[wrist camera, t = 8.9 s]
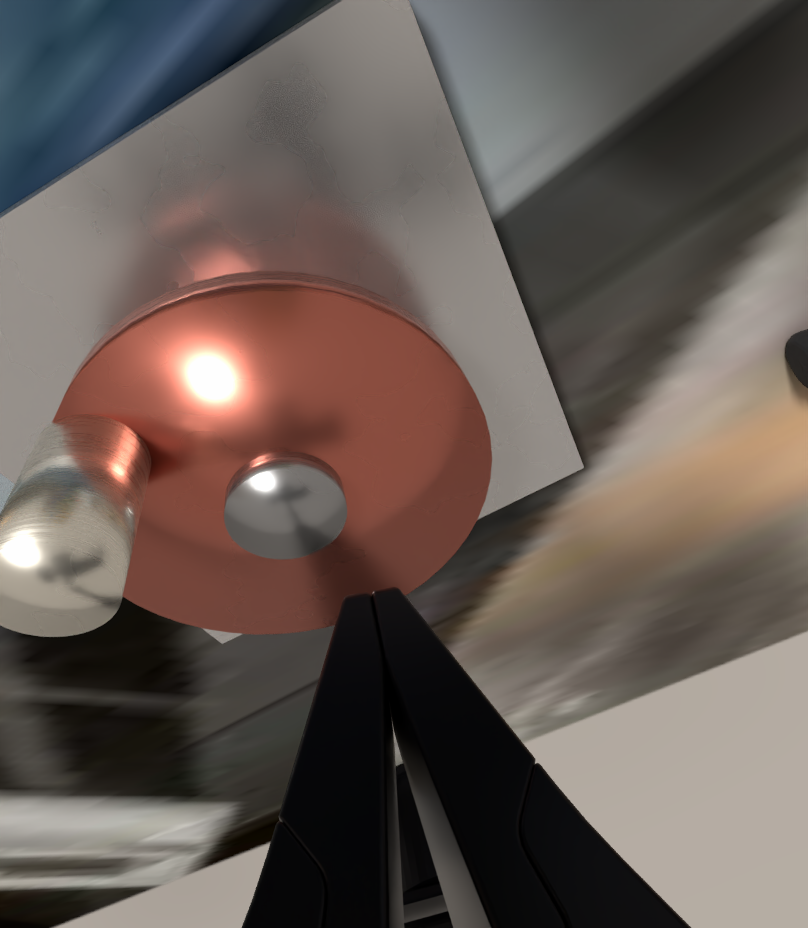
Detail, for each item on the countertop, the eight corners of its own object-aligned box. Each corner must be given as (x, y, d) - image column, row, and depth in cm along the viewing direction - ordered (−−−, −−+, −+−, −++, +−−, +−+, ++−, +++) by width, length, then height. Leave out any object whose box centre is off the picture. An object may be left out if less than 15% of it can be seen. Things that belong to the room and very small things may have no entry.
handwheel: (552, 356, 16) (652, 480, 12) (386, 622, 21) (417, 768, 17) (83, 184, 12) (-9, 287, 7) (26, 574, 17) (-46, 755, 13)
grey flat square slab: (223, 614, 26) (219, 699, 23) (-149, 308, 16) (-247, 384, 13) (567, 444, 24) (614, 512, 21) (384, -32, 14) (421, -39, 11)
